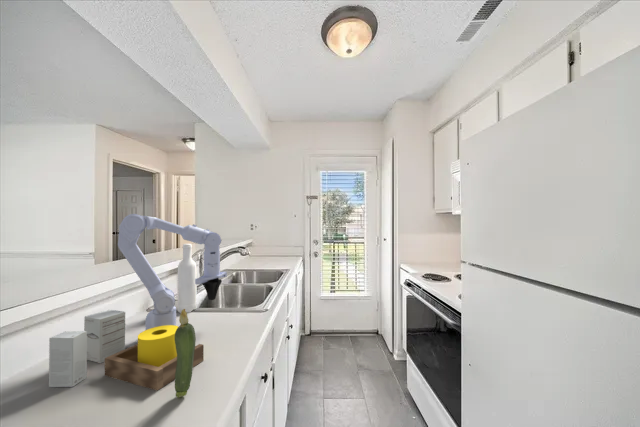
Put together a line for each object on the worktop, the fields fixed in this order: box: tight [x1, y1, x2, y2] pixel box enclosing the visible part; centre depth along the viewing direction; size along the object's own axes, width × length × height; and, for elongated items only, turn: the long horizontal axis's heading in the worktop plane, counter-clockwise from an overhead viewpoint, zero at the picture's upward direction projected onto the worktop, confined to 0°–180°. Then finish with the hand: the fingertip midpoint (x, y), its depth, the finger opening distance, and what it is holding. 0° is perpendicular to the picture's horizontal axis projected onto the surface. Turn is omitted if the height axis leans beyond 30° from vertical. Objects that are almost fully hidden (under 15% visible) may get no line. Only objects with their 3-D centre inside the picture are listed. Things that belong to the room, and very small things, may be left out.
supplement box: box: [83, 309, 126, 364], centre depth 81 cm, size 7×7×13 cm
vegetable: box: [174, 309, 196, 399], centre depth 62 cm, size 4×4×20 cm
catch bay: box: [104, 343, 205, 391], centre depth 74 cm, size 19×14×4 cm
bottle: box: [176, 243, 198, 314], centre depth 122 cm, size 8×8×30 cm
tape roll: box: [137, 325, 179, 367], centre depth 75 cm, size 10×10×9 cm
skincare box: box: [48, 330, 88, 388], centre depth 68 cm, size 6×4×12 cm
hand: (212, 299), depth 102 cm, fingers closed
